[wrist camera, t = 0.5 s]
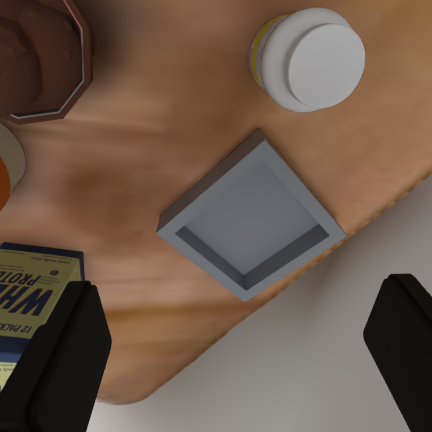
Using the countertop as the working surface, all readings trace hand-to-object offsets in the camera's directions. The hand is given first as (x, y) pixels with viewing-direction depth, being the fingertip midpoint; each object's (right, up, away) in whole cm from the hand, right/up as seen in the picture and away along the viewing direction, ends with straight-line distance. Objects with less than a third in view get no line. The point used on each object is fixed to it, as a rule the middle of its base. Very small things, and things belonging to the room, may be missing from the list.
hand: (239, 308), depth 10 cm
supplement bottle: (+6, +19, +19) cm, 27 cm away
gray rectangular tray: (+3, +3, +29) cm, 29 cm away
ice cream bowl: (-15, +20, +18) cm, 30 cm away
